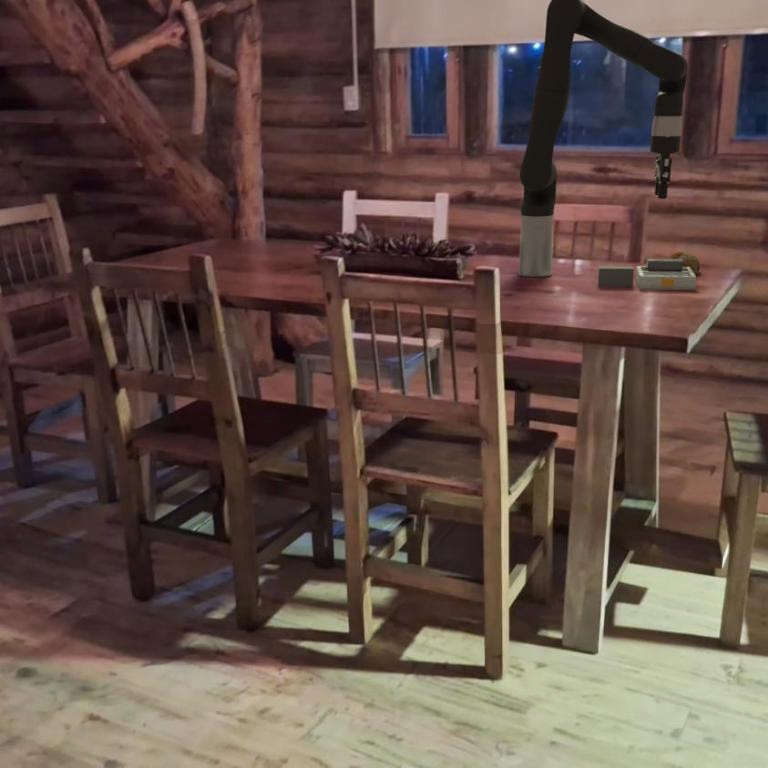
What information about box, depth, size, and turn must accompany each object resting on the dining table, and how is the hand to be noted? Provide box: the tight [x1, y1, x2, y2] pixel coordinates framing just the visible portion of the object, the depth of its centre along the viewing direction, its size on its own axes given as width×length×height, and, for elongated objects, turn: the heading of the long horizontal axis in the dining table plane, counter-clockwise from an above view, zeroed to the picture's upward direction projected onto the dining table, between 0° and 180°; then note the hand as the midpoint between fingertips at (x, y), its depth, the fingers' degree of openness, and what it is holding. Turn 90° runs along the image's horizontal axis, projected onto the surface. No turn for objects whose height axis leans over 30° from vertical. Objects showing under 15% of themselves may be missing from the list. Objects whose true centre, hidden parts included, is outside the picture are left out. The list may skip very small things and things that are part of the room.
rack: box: [635, 258, 697, 291], centre depth 235 cm, size 14×16×6 cm
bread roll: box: [666, 251, 701, 275], centre depth 251 cm, size 10×10×8 cm
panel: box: [597, 265, 635, 288], centre depth 236 cm, size 9×4×5 cm, turn 78°
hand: (660, 196), depth 235 cm, fingers open, 8 cm apart
